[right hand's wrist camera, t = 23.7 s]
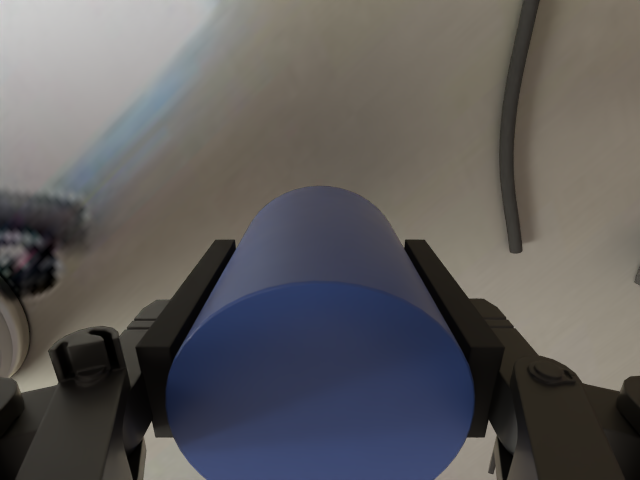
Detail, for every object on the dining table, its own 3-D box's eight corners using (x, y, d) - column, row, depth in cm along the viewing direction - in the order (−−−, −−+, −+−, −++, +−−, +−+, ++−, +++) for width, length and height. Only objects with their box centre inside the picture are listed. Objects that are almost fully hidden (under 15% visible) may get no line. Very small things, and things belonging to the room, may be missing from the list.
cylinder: (254, 168, 14) (178, 248, 6) (420, 206, 14) (529, 320, 7) (230, 313, 16) (154, 496, 9) (373, 341, 16) (417, 535, 9)
